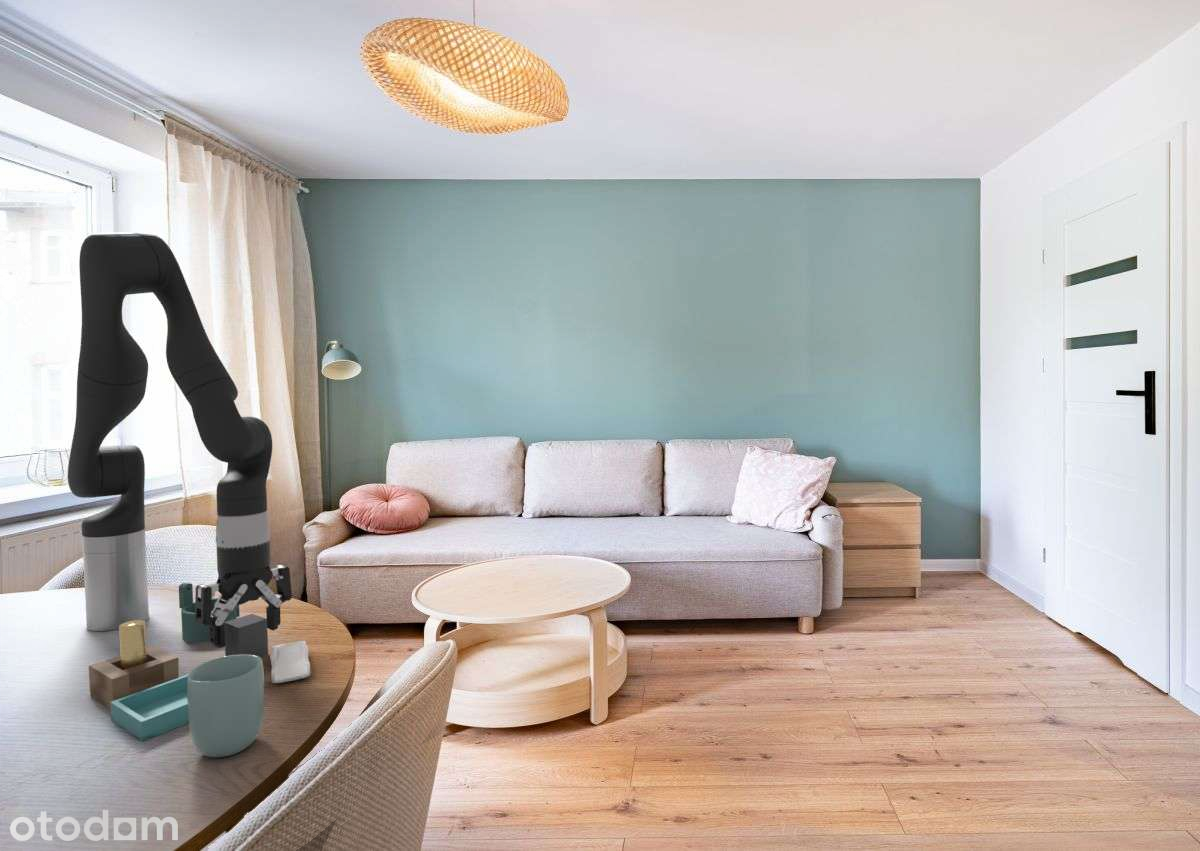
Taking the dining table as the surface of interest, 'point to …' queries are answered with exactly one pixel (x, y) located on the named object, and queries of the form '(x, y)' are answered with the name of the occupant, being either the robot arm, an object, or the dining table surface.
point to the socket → (131, 675)
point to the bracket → (190, 627)
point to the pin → (132, 644)
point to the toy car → (289, 662)
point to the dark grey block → (246, 636)
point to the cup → (225, 704)
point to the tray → (153, 709)
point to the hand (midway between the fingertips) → (247, 637)
